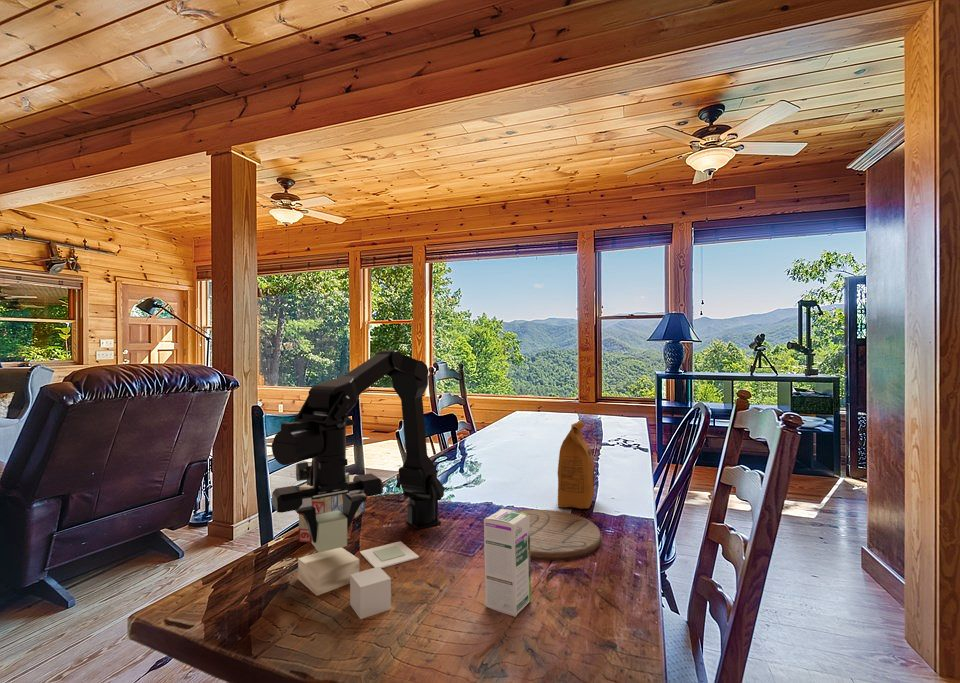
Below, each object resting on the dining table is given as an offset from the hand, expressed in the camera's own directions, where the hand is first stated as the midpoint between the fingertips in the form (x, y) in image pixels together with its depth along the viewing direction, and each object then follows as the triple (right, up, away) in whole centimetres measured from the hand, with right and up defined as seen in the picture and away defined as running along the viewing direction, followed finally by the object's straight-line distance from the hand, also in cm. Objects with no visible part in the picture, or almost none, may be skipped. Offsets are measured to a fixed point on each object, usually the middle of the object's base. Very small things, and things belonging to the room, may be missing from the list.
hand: (329, 538), depth 84 cm
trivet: (+42, -8, +20) cm, 47 cm away
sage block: (0, -1, 0) cm, 1 cm away
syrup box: (+32, -7, -9) cm, 34 cm away
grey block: (+10, -7, -9) cm, 15 cm away
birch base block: (0, -8, 0) cm, 8 cm away
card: (+9, -8, +10) cm, 15 cm away
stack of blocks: (-7, -8, +26) cm, 29 cm away
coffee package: (+54, -8, +41) cm, 68 cm away
